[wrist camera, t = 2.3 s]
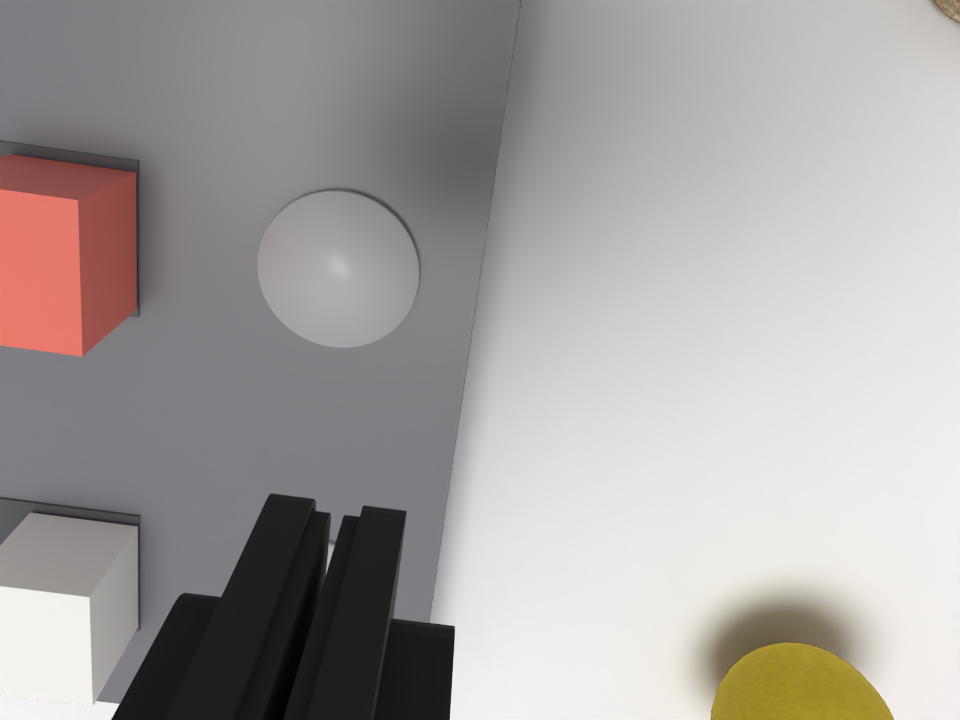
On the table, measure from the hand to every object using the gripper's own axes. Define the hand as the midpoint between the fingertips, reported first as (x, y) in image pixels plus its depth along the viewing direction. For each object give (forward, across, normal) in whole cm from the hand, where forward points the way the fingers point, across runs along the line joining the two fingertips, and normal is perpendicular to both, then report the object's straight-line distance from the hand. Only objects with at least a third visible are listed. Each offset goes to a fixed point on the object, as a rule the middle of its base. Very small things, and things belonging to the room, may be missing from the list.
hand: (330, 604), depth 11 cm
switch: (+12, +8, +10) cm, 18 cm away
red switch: (+12, +8, 0) cm, 15 cm away
